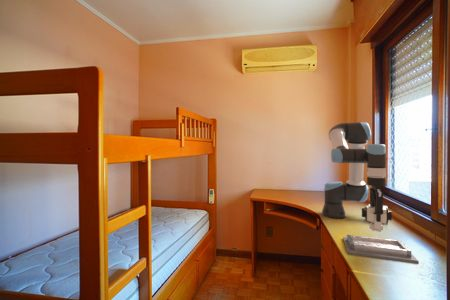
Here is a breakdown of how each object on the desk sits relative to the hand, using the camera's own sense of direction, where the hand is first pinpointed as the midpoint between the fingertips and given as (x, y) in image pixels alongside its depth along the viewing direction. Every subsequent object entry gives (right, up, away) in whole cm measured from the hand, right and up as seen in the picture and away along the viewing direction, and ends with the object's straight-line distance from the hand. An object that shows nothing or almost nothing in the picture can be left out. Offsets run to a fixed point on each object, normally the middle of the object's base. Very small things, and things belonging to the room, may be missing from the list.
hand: (376, 226), depth 111 cm
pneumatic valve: (0, -2, 0) cm, 2 cm away
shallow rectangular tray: (0, -10, 0) cm, 10 cm away
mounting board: (0, -11, 0) cm, 11 cm away
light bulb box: (+28, -11, +42) cm, 52 cm away
